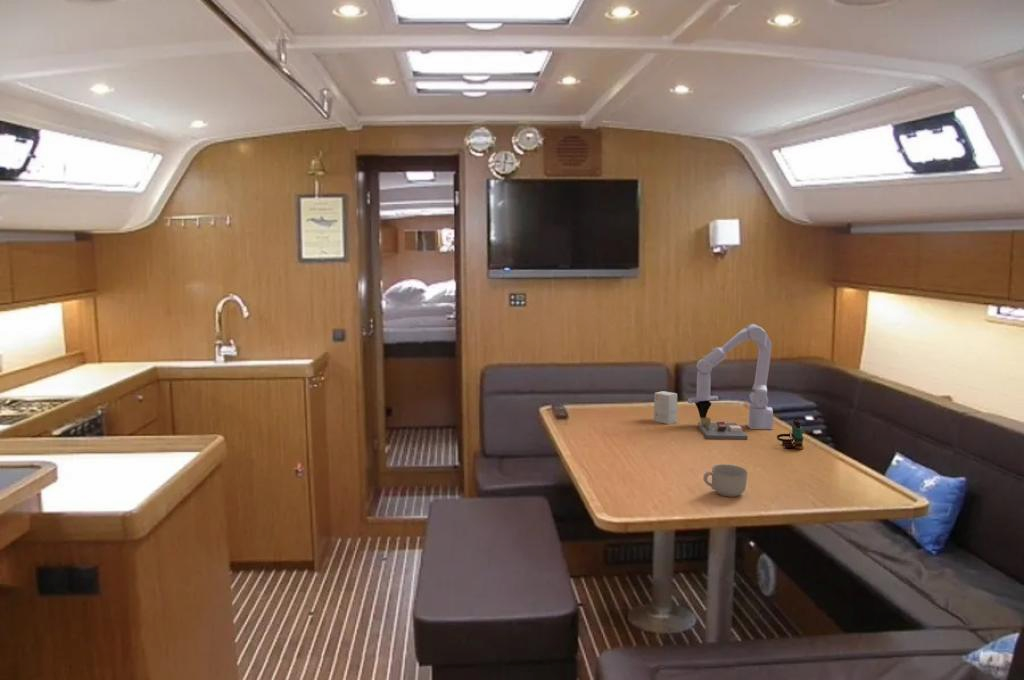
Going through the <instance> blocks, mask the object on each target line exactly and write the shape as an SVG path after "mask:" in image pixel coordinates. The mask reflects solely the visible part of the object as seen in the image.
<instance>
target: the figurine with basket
mask: <svg viewBox="0 0 1024 680" xmlns="http://www.w3.org/2000/svg"><path fill="white" fill-rule="evenodd" d="M799 420H800V419H798V418H793V419H792V422H793V424H791V432H789V433H780V434H777V435H776V440H778V441H779V442H782V443H781V444H782V446H783V447H784V449H791V448H795V449H798V450H804V445H803V443H804V436H803V435H804V434H805V431H804V430H803V428H802V426H801V424H802V422H800V421H799ZM782 437H789V438H788V439H787V438H782Z"/></svg>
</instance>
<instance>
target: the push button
mask: <svg viewBox="0 0 1024 680" xmlns="http://www.w3.org/2000/svg"><path fill="white" fill-rule="evenodd" d="M742 430H743V428H742V427H741V425H738V424H737V425H729V431H730V432H742Z"/></svg>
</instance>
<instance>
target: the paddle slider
mask: <svg viewBox="0 0 1024 680" xmlns="http://www.w3.org/2000/svg"><path fill="white" fill-rule="evenodd" d="M699 423H700V425H710V423H711V417H707V416H706V417H700V416H699Z"/></svg>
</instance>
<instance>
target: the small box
mask: <svg viewBox="0 0 1024 680" xmlns="http://www.w3.org/2000/svg"><path fill="white" fill-rule="evenodd" d="M653 400H654V403H653V405H654V408H653V409H654V413H653V422H657V423H660V424H661V423H662V424H665V425H671V424H675V423H677V422H678V393H676V392H672V391H671V392H670V391H665V390H664V391H663V390H662V391H658V392H654V398H653Z"/></svg>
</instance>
